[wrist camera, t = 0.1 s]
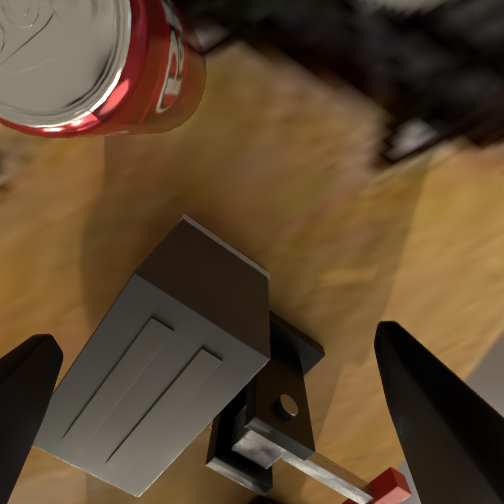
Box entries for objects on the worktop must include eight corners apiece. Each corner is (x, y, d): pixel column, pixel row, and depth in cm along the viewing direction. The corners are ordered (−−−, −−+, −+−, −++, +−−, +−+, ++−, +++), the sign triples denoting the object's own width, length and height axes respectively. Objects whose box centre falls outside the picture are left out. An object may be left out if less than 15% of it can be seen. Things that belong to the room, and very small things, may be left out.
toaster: (179, 380, 29) (138, 501, 20) (101, 335, 28) (17, 442, 18) (269, 273, 25) (273, 360, 16) (184, 213, 24) (132, 269, 14)
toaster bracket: (323, 346, 27) (351, 447, 19) (264, 404, 30) (265, 518, 21) (255, 301, 26) (252, 387, 17) (200, 365, 28) (173, 469, 20)
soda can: (164, -26, 19) (18, -255, 8) (229, 95, 21) (191, 58, 10) (68, 47, 20) (-174, -54, 9) (138, 154, 22) (13, 180, 11)
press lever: (401, 467, 23) (415, 503, 21) (352, 503, 25) (361, 540, 23) (266, 383, 21) (266, 414, 19) (221, 428, 23) (217, 462, 20)
